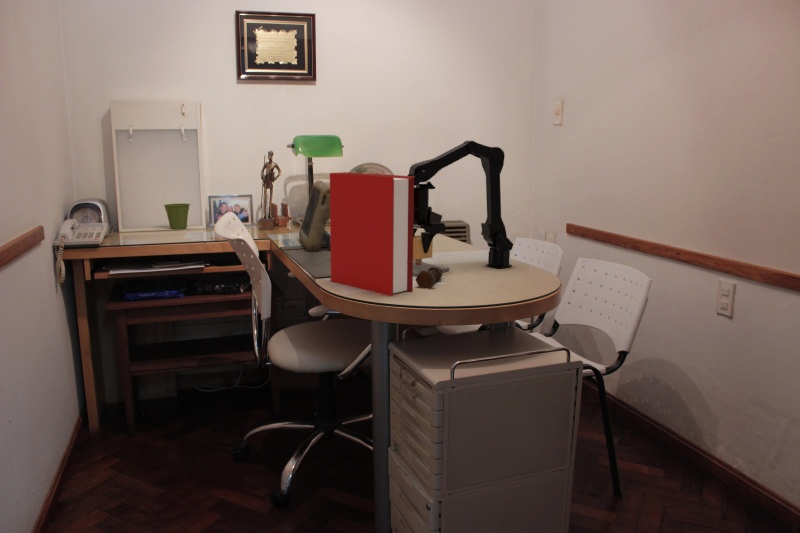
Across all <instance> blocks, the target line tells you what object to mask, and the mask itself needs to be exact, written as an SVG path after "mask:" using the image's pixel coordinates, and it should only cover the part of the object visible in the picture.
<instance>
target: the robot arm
mask: <svg viewBox="0 0 800 533" xmlns="http://www.w3.org/2000/svg"><path fill="white" fill-rule="evenodd" d="M469 155H471V156H473V157H475V158H478V159H480V163H481V167H482V169H483V172H484V174H485V190H486V220H485V222H481V223H480V226H481V233H480V235H481V236H482V238H483V240H484V241H485V242H486V243H487V247H489V251H488V260H487V262H488V263H486V264H485V266H486V267H490V268H496V269H505V268H511V267H513V265H512V264H510V255H511V254H510V253H511V252H510V251H512V250H513V247H514V243H513V242H512V240H510V239H509V238H508V235H507V229H506V226H505V223H504V221H503V218H502V201H501V200H502V199H501V198H502V195H501V173H502V171H503V167H504V164H505V152H504V150H503V149H502V148H501V147H499V146H488V145H485V144H482V143H479V142H476V141H475V140H464V141H463V142H462V143H460V144H459V145H457V146H454V147H453V148H450V149H448V150H447V151H445V152H442V154H441V153H440V155H438V156H436V157H434V158H431V159H427V160H423V161H420V162H416V163H413V164H411V165H410V167H409V170H408V171H409V172H408V174H407V175H406V176H414V223H413V236H416V232H417V231H418V230H419V229H423V230H424V231H423V232H420V235H421V238H422V244H423V250H424V253H428V250H429V247H430V244H431V242H432V240H433V239H434V237H435V236H437V235H438V234H440V233H445V232H446V224H445V223H444V222H442V218H443V215H442V214H440V213H437V212H435V211H433V210H432V209H433V208H432V206H429V200H430V199H429V195H430V194H429V193H430V190H435V189H436V186H434V184H432V182H431V181H429V180H431V179H433V177H435V176H436V175H437V174H438V173H439V172H440V171H441V170H442V169H444V168H446V167H448V166H450V165H452V164H454V163H456V162H458V161H459V160H462V159H464V158H465V157H467V156H469Z"/></svg>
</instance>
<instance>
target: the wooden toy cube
mask: <svg viewBox="0 0 800 533" xmlns="http://www.w3.org/2000/svg"><path fill="white" fill-rule="evenodd" d="M430 258H431V259H432V258H433V240H432V242H431V244H430V247H429V250H428V253H424V250H423V244H422V238H421V234H420V235H419V234H418V235H415V236H413V260H414V259H418V260H419V259H422V260H423V259H430Z"/></svg>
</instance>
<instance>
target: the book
mask: <svg viewBox="0 0 800 533" xmlns="http://www.w3.org/2000/svg"><path fill="white" fill-rule="evenodd" d="M329 185H330V218H329V220H330V221H329V222H330V224H329V225H330V226H329V227H330V232H329V234H330V241H331V250H330V281H331V283H336V284H341V285H344V286H348V287H352V288H355V289H356V288H357V289H360V290H366V291H368V290H369V291H368V292H374V293H378V294H382V295H385V296H389V297H393V295H394V294H397V293H402V292H404V291H409V292H413V285H414V284H413V283H414V282H413V281H414V280H413V279H414V278H413V277H414V276H413V263H414V259H413V223H414V187H415V186H414V176H407V175H399V174H398V175H397V174H396V175H395V174H383V173H382V174H381V173H366V172H364V173H363V172H348V171H347V172H346V171H344V172H329Z"/></svg>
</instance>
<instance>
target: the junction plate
mask: <svg viewBox="0 0 800 533" xmlns="http://www.w3.org/2000/svg"><path fill="white" fill-rule="evenodd" d="M430 267H439V268H440V269H441V270H442V272H443V273H447V272H449V271H450V268H449V267H445V266H440V265H435V264H431V263H428V262H427V263H426V262H423V259H419V260H418V259H415V262H413V277H416V278H417V276H418V274H419V273H420V271H428V270H429V268H430Z"/></svg>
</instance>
